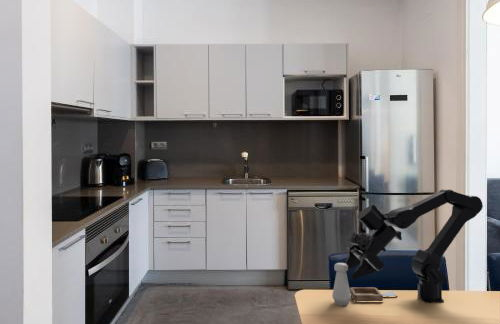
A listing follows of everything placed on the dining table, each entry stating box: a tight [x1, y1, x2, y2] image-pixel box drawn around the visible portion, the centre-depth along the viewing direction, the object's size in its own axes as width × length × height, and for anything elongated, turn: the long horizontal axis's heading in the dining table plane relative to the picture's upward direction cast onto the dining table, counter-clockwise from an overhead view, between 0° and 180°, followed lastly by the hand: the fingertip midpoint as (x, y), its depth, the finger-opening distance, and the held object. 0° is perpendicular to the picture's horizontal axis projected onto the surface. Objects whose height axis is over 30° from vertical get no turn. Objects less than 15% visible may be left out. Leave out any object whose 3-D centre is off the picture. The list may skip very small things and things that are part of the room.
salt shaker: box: [332, 262, 352, 307], centre depth 137 cm, size 6×6×13 cm
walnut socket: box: [349, 287, 384, 303], centre depth 143 cm, size 9×9×2 cm
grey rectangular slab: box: [382, 291, 398, 297], centre depth 145 cm, size 7×5×1 cm
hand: (346, 275), depth 138 cm, fingers open, 9 cm apart
